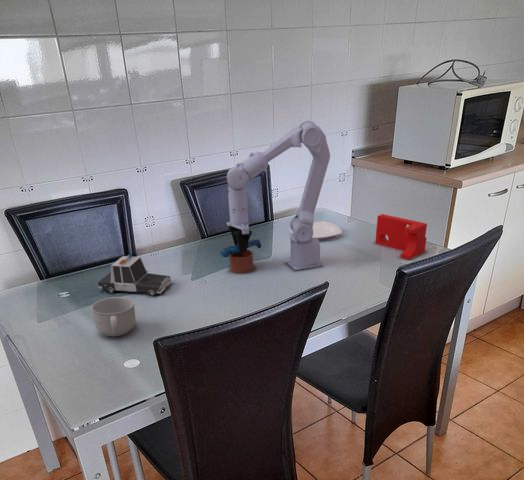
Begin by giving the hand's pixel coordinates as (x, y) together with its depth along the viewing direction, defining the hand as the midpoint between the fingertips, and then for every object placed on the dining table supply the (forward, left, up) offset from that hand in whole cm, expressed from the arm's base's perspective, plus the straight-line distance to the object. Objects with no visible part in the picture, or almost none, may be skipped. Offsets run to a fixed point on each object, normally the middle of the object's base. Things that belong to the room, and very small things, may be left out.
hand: (240, 249), depth 165 cm
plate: (-37, -22, -6) cm, 43 cm away
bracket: (-55, +5, -7) cm, 56 cm away
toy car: (+35, +2, -7) cm, 36 cm away
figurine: (0, 0, -2) cm, 2 cm away
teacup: (+43, +30, -7) cm, 53 cm away
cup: (0, 0, -7) cm, 7 cm away
